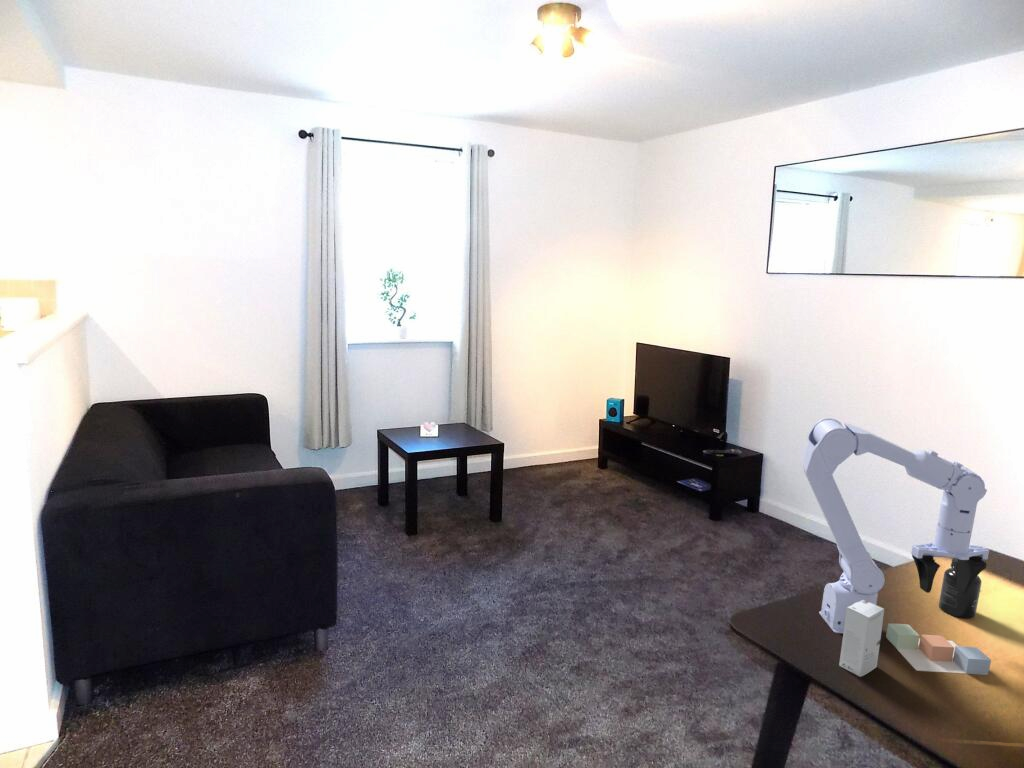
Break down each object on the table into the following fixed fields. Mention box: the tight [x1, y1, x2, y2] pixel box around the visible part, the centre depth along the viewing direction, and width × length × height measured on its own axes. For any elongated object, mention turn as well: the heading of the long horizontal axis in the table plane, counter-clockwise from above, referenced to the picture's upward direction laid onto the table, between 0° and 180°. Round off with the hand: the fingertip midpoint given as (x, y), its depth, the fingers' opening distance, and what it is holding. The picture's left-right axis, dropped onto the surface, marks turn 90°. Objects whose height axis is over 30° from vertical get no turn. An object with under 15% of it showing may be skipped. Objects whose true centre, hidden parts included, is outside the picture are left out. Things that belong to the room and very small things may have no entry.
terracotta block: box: [919, 634, 954, 662], centre depth 127 cm, size 4×4×3 cm
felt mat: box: [885, 636, 987, 676], centre depth 127 cm, size 13×11×1 cm
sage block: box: [885, 622, 921, 650], centre depth 130 cm, size 4×4×3 cm
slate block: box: [953, 645, 992, 676], centre depth 123 cm, size 4×4×3 cm
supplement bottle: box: [938, 557, 982, 620], centre depth 143 cm, size 7×7×12 cm
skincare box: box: [838, 600, 885, 678], centre depth 122 cm, size 6×4×12 cm
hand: (943, 590), depth 132 cm, fingers open, 7 cm apart
